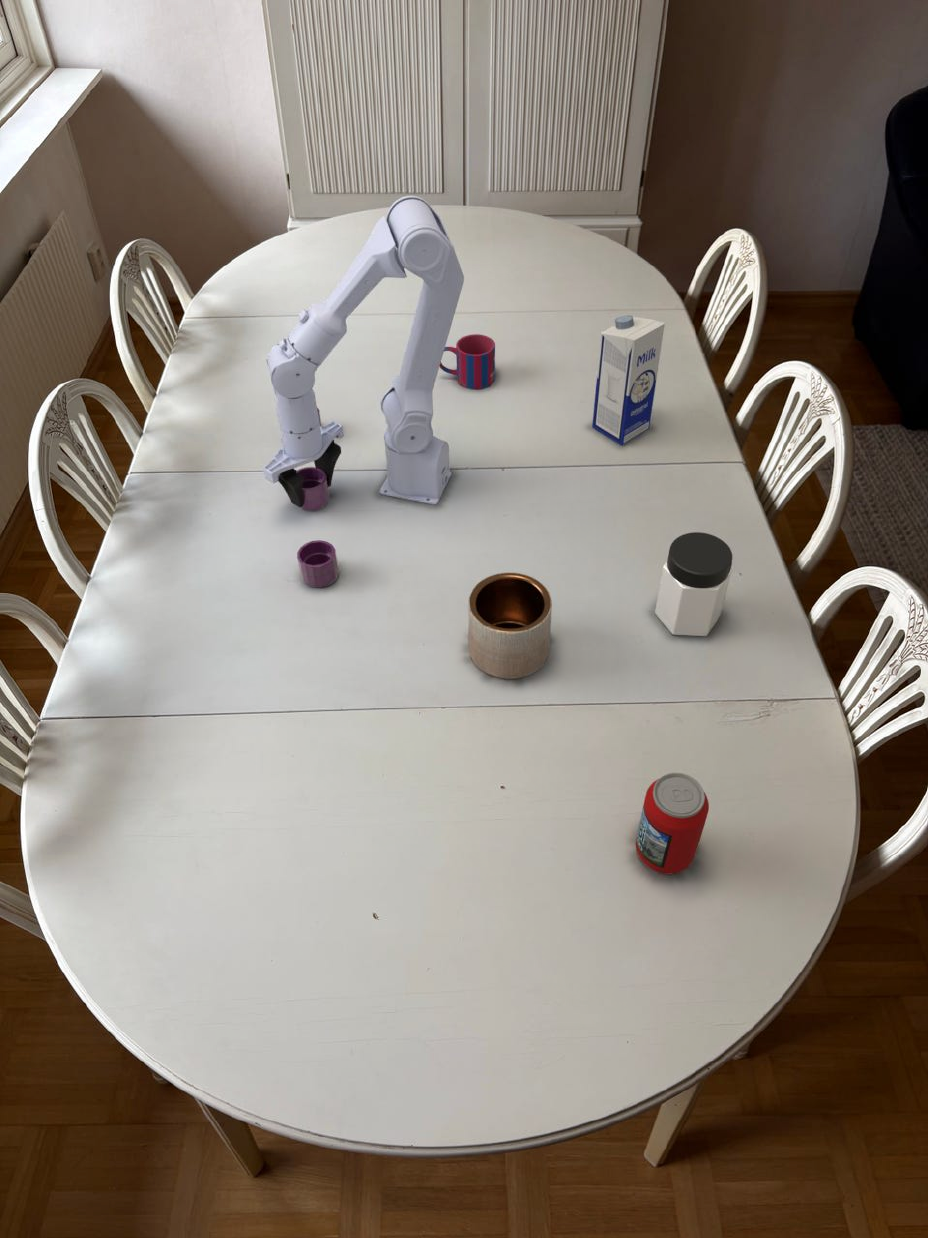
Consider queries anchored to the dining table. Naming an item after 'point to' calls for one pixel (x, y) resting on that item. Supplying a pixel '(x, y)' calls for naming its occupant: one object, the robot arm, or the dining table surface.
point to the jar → (694, 584)
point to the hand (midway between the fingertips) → (311, 493)
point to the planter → (509, 625)
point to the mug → (474, 361)
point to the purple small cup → (318, 563)
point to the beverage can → (671, 823)
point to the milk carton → (627, 377)
